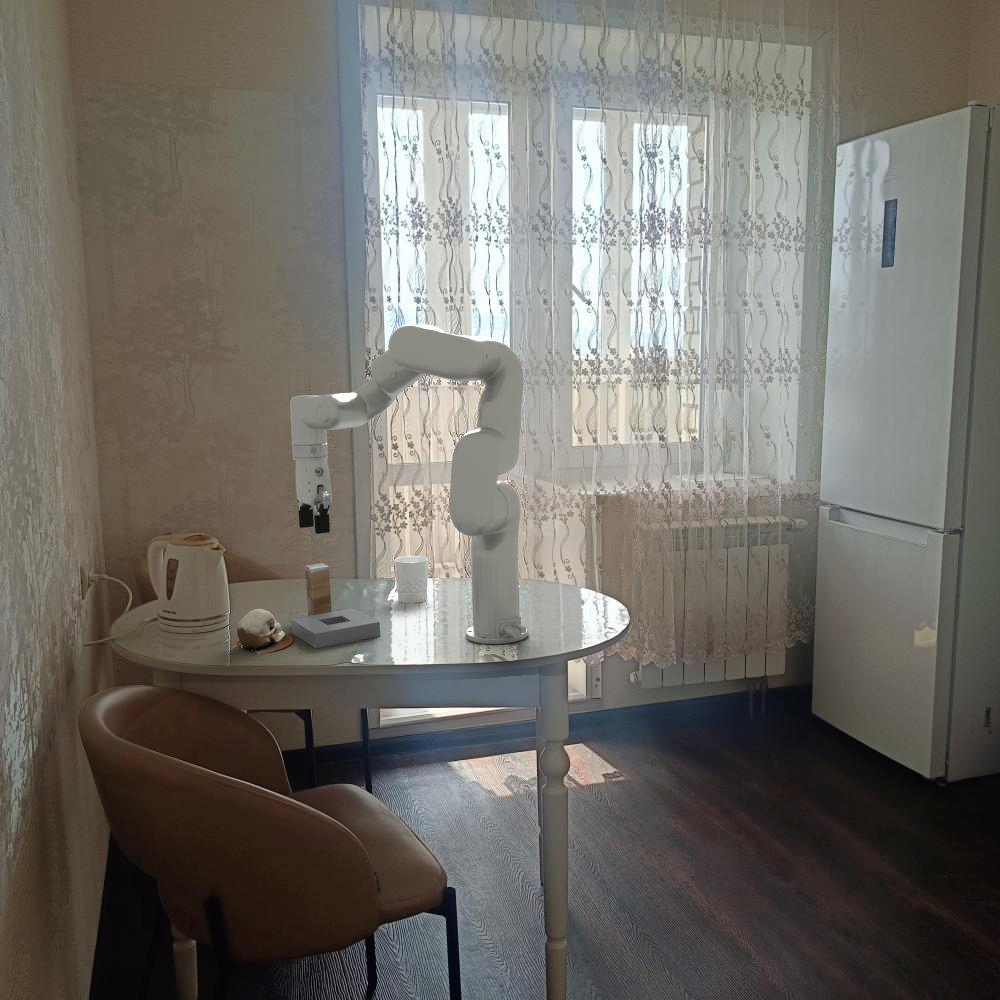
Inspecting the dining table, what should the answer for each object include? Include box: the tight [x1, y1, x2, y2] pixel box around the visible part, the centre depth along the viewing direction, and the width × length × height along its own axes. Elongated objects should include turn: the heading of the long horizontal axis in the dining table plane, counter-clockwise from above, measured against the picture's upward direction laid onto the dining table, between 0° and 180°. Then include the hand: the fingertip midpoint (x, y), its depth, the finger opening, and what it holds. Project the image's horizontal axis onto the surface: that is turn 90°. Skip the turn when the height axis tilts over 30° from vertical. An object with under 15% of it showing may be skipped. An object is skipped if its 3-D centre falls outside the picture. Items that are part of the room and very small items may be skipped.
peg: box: [304, 562, 333, 616], centre depth 201 cm, size 4×4×12 cm
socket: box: [290, 607, 381, 649], centre depth 189 cm, size 14×14×3 cm
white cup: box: [393, 555, 429, 604], centre depth 216 cm, size 8×8×10 cm
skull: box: [234, 608, 294, 655], centre depth 183 cm, size 12×10×10 cm
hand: (314, 530), depth 200 cm, fingers open, 9 cm apart
